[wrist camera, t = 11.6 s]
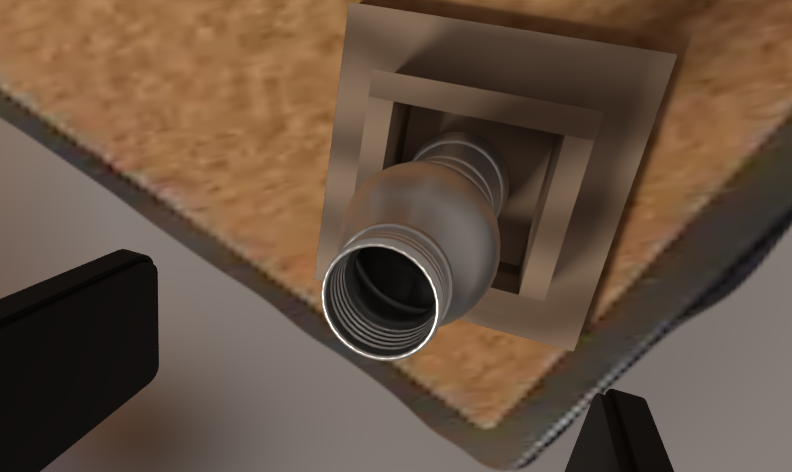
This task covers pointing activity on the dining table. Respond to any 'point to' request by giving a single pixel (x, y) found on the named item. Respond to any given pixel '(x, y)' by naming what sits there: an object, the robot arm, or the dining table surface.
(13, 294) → the robot arm
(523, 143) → the bottle stand
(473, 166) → the plastic bottle
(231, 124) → the dining table surface
